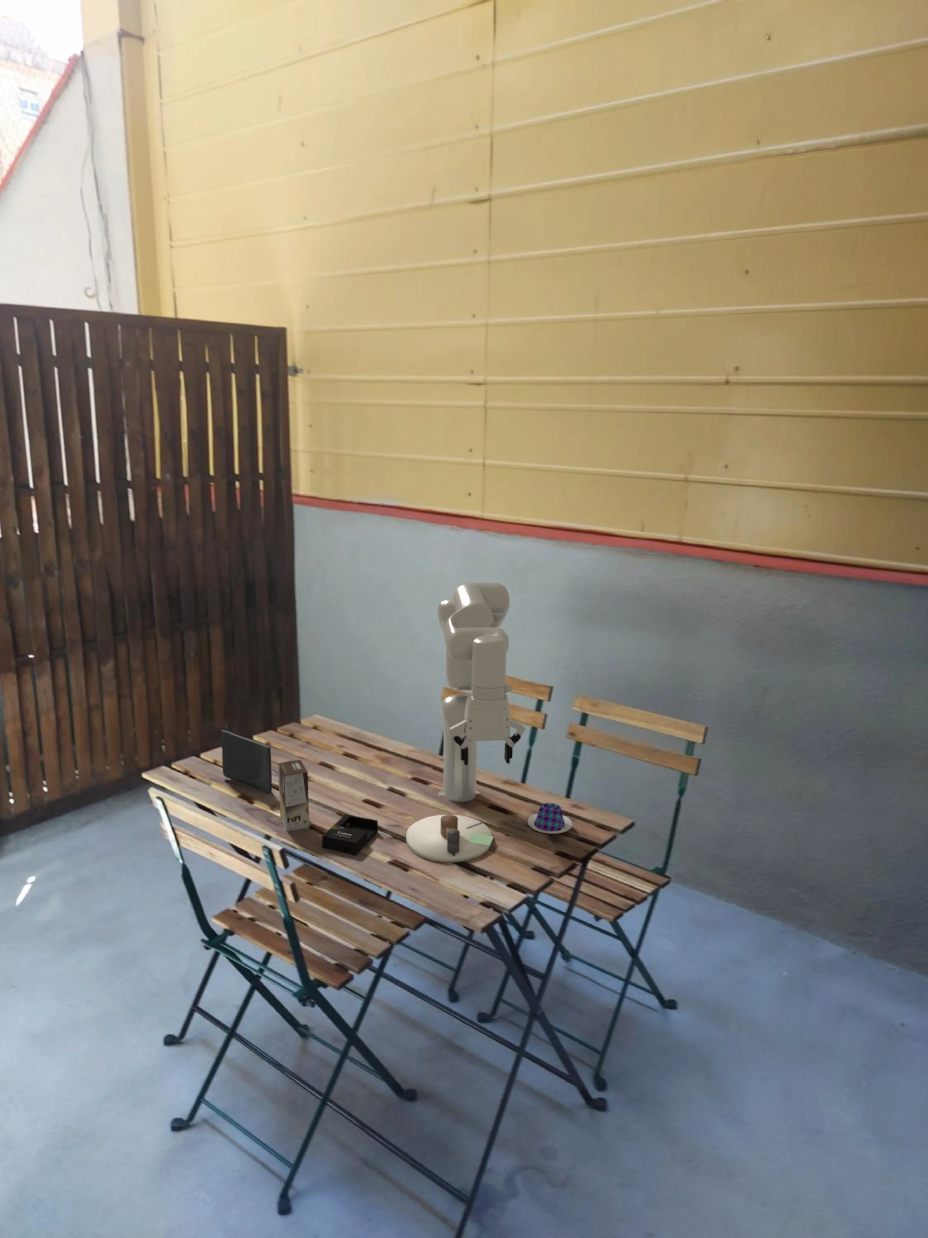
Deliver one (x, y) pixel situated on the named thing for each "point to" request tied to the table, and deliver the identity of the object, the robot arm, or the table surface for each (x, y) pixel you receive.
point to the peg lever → (451, 832)
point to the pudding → (550, 819)
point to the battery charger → (350, 834)
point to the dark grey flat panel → (246, 761)
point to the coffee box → (293, 795)
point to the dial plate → (433, 845)
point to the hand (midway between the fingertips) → (486, 762)
